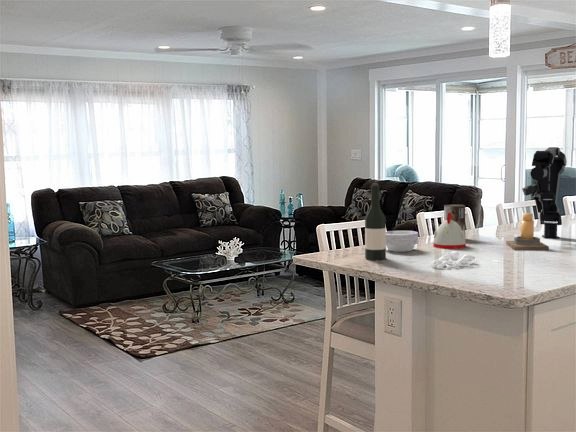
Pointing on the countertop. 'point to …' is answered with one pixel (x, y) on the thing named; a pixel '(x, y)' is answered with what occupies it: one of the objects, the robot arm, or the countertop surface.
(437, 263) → the crumpled white cloth
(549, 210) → the robot arm
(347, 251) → the countertop surface
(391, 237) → the paper bowls
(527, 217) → the wooden peg doll
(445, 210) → the coffee box
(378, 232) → the wine bottle
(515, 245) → the peg board base
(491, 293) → the countertop surface
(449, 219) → the kitchen timer
